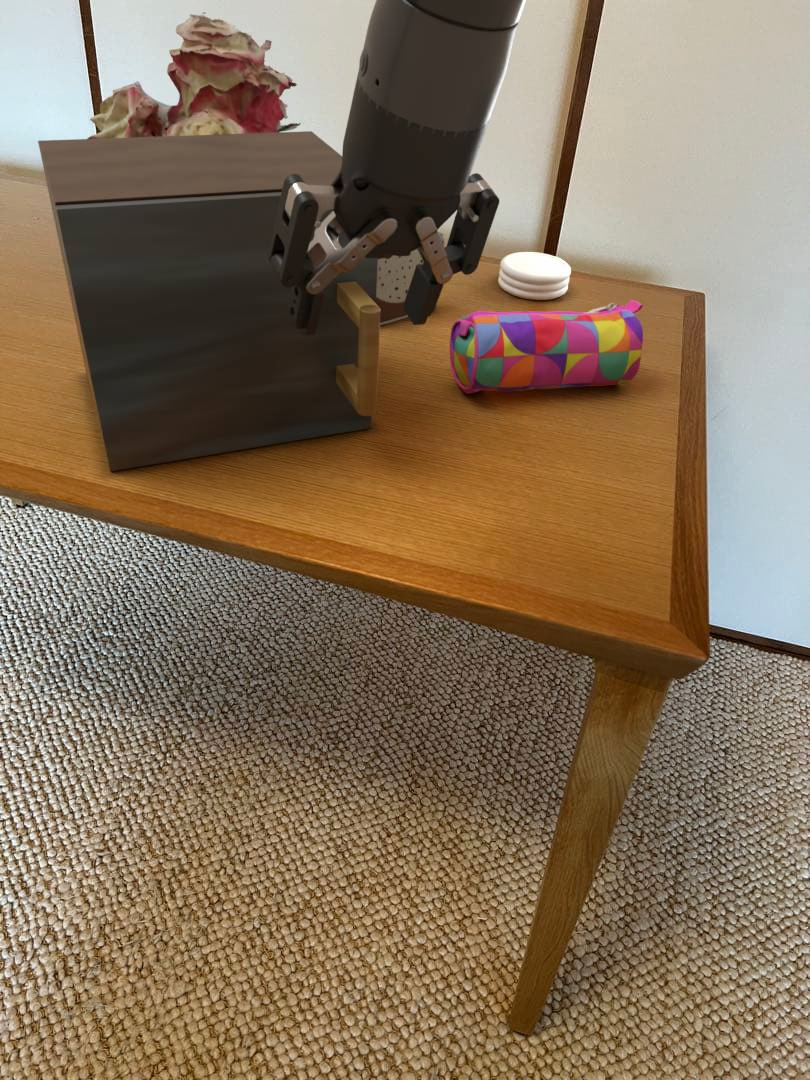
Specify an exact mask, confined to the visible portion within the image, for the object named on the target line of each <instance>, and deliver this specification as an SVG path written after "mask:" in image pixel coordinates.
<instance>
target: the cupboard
mask: <svg viewBox="0 0 810 1080" xmlns="http://www.w3.org/2000/svg"><path fill="white" fill-rule="evenodd" d="M37 144H38V149H39V152H40V158H41V163H42V166H43V173H44V177H45V182H46V187H47V192H48V195H49V201H50V207H51V210H52V215H53V221H54V225H55V229H56V230H55V231H56V236H57V240H58V243H59V248H60V253H61V258H62V263H63V267H64V273H65V277H66V278H65V279H66V282H67V287H68V292H69V296H70V297H69V298H70V302H71V307H72V311H73V316H74V321H75V326H76V330H77V335H78V336H77V337H78V341H79V346H80V350H81V355H82V359H83V364H84V369H85V375H86V378H87V383H88V387H89V391H90V395H91V398H92V399H91V400H92V403H93V407H94V411H95V416H96V420H97V423H98V428H99V432H100V435H101V440H102V444H103V448H104V453H105V457H106V458H107V455H106V450H105V445H104V440H103V435H102V431H101V426H100V421H99V416H98V411H97V406H96V401H95V396H94V392H93V387H92V382H91V377H90V372H89V367H88V362H87V357H86V352H85V348H84V343H83V338H82V333H81V328H80V323H79V318H78V313H77V309H76V304H75V299H74V294H73V289H72V284H71V279H70V274H69V269H68V265H67V260H66V255H65V250H64V245H63V240H62V235H61V230H60V226H59V221H58V216H57V211H56V205H73V204H89V203H106V202H123V201H139V200H156V199H173V198H189V197H206V196H223V195H240V194H256V193H273V192H282V188H283V184H284V181H285V179H286V178H287V177H288V176H289V175H292V174H298V175H300V176H301V177H302V178H303V180H304V182H305V183H306V184H307V185H326V186H330V185H331V183H332V182H333V181H334V179H335V178H336V176H337V175H338V173H339V171H340V169H341V166H342V154H340V153H339V152H338V151H336V150H335V149H334V148H332V146H330V145H329V144H328V143H327V142H325V140H323V139H322V138H321V137H320V136H318V135H317V134H316V133H314V131H311V130H307V131H282V132H277V133H248V134H219V135H190V136H161V137H132V138H103V139H87V138H79V139H76V138H75V139H50V140H49V139H48V140H38V141H37ZM106 461H107V462H108V460H107V459H106Z"/></svg>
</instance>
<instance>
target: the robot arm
mask: <svg viewBox="0 0 810 1080" xmlns="http://www.w3.org/2000/svg"><path fill="white" fill-rule="evenodd" d="M526 2H527V0H376V1H375V2H374V6H373V9H372V11H371V15H370V19H369V21H368V25H367V30H366V34H365V39H364V44H363V48H362V51H361V54H360V57H359V63H358V64H359V65H358V66H359V67H358V72H357V76H356V81H355V85H354V91H353V95H352V100H351V103H350V110H349V114H348V119H347V123H346V128H345V132H344V137H343V142H342V152H341V153H342V154H341V156H342V166H341V169H340V171H339V173H338V175H337V176H336V178H335V179H334V181H333V182H332V183H331V185H330V186H326V185H307V184H306V183H305V182H304V180H303V178H302V177H301V176H300V175H298V174H292V175H289V176H288V177H287V178H286V179H285V181H284V184H283V188H282V193H281V197H280V202H279V206H278V210H277V215H276V219H275V224H274V228H273V233H272V237H271V242H270V246H269V251H268V259H269V261H270V263H271V265H272V267H273V268H274V270H275V272H276V274H277V276H278V278H279V279H280V281H281V283H282V285H283V286H284V287H288V288H289V287H292V290H291V296H290V301H289V302H290V303H289V306H288V311H289V315H290V317H291V319H292V320H293V322H294V324H295V326H296V328H297V329H300V331H301V333H302V335H303V336H312V335H315V334H316V329H317V325H318V321H319V316H320V312H321V308H322V303H323V299H324V295H325V293H324V291H323V289H324V288H325V287H326V286H327V285H328V284H329V283H330V282H331V281H332V280H333V279H334V278H335V277H336V276H337V275H338V274H339V273H341V272H343V273H348V272H350V271H351V270H352V269H353V268H354V267H355V266H356V265H357V264H358V263H359V262H360V261H361V260H362V259H363V258H364V257H366V258H378V257H382V256H385V255H388V254H390V255H395V256H410V253H411V251H414V250H416V249H418V251H419V254H420V256H421V258H422V260H423V261H424V262H423V264H419V265H416V268H415V271H414V274H413V277H412V280H411V283H410V286H409V290H408V293H407V296H406V299H405V302H404V310H405V312H406V314H407V315H408V317H407V318H408V320H410V322H411V324H412V325H413V326H420V325H426V323H427V320H428V317H431V316H432V314H433V313H434V311H436V307H437V304H438V301H439V298H440V296H441V294H442V290H443V288H444V285H445V284H447V283H449V282H450V281H451V280H452V278H453V277H454V275H455V274H458V273H460V272H461V273H462V274H463V275H466V276H468V275H471V274H473V273H475V271H476V270H477V269H478V266H479V264H480V260H481V258H482V255H483V252H484V248H485V246H486V244H487V241H488V238H489V234H490V232H491V228H492V225H493V223H494V219H495V217H496V215H497V210H498V208H499V205H500V197H498V195H497V194H496V192H495V191H494V190H493V188H492V187H491V186H490V184H489V183H488V182H487V180H485V179H484V177H483V176H482V175H481V174H480V173H478V172H477V173H476V172H475V173H472V171H473V168H474V166H475V165H474V164H475V162H476V159H477V156H478V153H479V150H480V148H481V145H482V143H483V140H484V137H485V134H486V131H487V128H488V125H489V122H490V120H491V117H492V114H493V111H494V109H495V105H496V102H497V100H498V97H499V94H500V92H501V88H502V85H503V83H504V80H505V76H506V74H507V70H508V66H509V63H510V58H511V54H512V49H513V45H514V40H515V36H516V32H517V28H518V25H519V22H520V19H521V16H522V14H523V11H524V7H525V5H526ZM331 209H333V211H332V212H331V213H330V214H329V215H328V216H327V217H326V218H325V219H324V221H323V222H322V223H321V222H320V220H321V219H322V216H323V215H324V213H326V212H327V211H329V210H331ZM454 214H455V216H454V219H453V223H452V227H451V230H450V234H449V237H448V240H447V243H446V246H445V247H444V246H443V244H442V242H441V239H440V237H439V234H438V232H439V229H440V228H441V227H442V226H443V225H444V224H445V223H446V222H447V221H448V220H449V219H450V218H451V217H452V216H453V215H454ZM313 228H316V230H315V233H314V238H313V240H312V241H311V242H310V240H311V236H312V232H313ZM343 230H344V232H345V234H346V236H347V237H348V239H349V241H350V242H349V243H348V244H347V245H346V246H345V247H344V248H343V249H342V247H341V246H340V244H339V242H338V237H339V234H340V233H341V232H342V231H343ZM437 231H438V232H437ZM325 255H326V258H325V260H324V261H323V262H322V263H321V264H320V265H319V266H318V267H317V268H316V266H315V265H316V264H317V263H318V262H319V261H320V260H321V259H322V258H323V257H324V256H325Z"/></svg>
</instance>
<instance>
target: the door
mask: <svg viewBox="0 0 810 1080" xmlns="http://www.w3.org/2000/svg"><path fill="white" fill-rule="evenodd" d="M281 193H282V192H273V193H256V194H240V195H223V196H206V197H189V198H173V199H156V200H139V201H123V202H106V203H89V204H73V205H56V211H57V216H58V221H59V226H60V230H61V235H62V240H63V245H64V250H65V255H66V260H67V265H68V269H69V274H70V279H71V284H72V289H73V294H74V299H75V304H76V309H77V313H78V318H79V323H80V328H81V333H82V338H83V343H84V348H85V352H86V357H87V362H88V367H89V372H90V377H91V382H92V387H93V392H94V396H95V401H96V406H97V411H98V416H99V421H100V426H101V431H102V435H103V440H104V445H105V449H104V451H105V450H106V453H105V456H106V455H107V457H106V461H107V460H108V461H107V464H108V468H109V469H108V470H109V472H116V471H121V470H127V469H134V468H140V467H146V466H151V465H157V464H164V463H170V462H176V461H181V460H187V459H193V458H201V457H206V456H211V455H219V454H223V453H230V452H236V451H242V450H247V449H253V448H259V447H260V448H261V447H264V446H271V445H279V444H284V443H290V442H295V441H301V440H308V439H314V438H320V437H327V436H331V435H338V434H343V433H349V432H355V431H362V430H368V429H371V428H372V416H374V415H375V414H376V413H377V400H378V399H377V398H378V378H379V375H378V374H379V354H380V353H379V352H380V331H381V329H380V327H381V325H380V308H379V307H378V306H377V304H376V290H377V265H378V258H366V257H364V258H363V259H362V260H361V261H360V262H359V263H358V264H357V265H356V266H355V267H354V268H353V269H352V270H351V271H350V272H348V273H343V272H341V273H339V274H338V275H337V276H336V277H335V278H334V279H333V280H332V281H331V282H330V283H329V284H328V285H327V286H326V287H325V288H324V289H323V291H324V293H325V295H324V299H323V303H322V308H321V312H320V316H319V321H318V325H317V329H316V334H315V335H312V336H303V335H302V333H301V331H300V329H297V328H296V326H295V324H294V322H293V320H292V319H291V317H290V315H289V311H288V306H289V303H290V302H289V301H290V296H291V290H292V287H289V288H288V287H284V286H283V285H282V283H281V281H280V279H279V278H278V276H277V274H276V272H275V270H274V268H273V267H272V265H271V263H270V261H269V259H268V251H269V246H270V242H271V237H272V233H273V228H274V224H275V219H276V215H277V210H278V206H279V202H280V197H281ZM332 211H333V209H331V210H329V211H327V212H326V213H324V215H323V216H322V219H321V220H320V222H321V223H322V222H323V221H324V219H325V218H326V217H327V216H328V215H329V214H330V213H331V212H332ZM315 230H316V228H313V232H312V236H311V240H310V242H311V241H312V240H313V238H314V233H315ZM338 242H339V244H340V246H341V247H342V249H343V248H344V247H345V246H346V245H347V244H348V243H349V242H350V241H349V239H348V237H347V236H346V234H345V232H344V230H343V231H342V232H341V233H340V234H339V237H338ZM325 258H326V255H325V256H324V257H323V258H322V259H321V260H320V261H319V262H318V263H317V264H316V265H315V266H316V268H317V267H318V266H319V265H320V264H321V263H322V262H323V261H324V260H325ZM104 445H103V446H104Z"/></svg>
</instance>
